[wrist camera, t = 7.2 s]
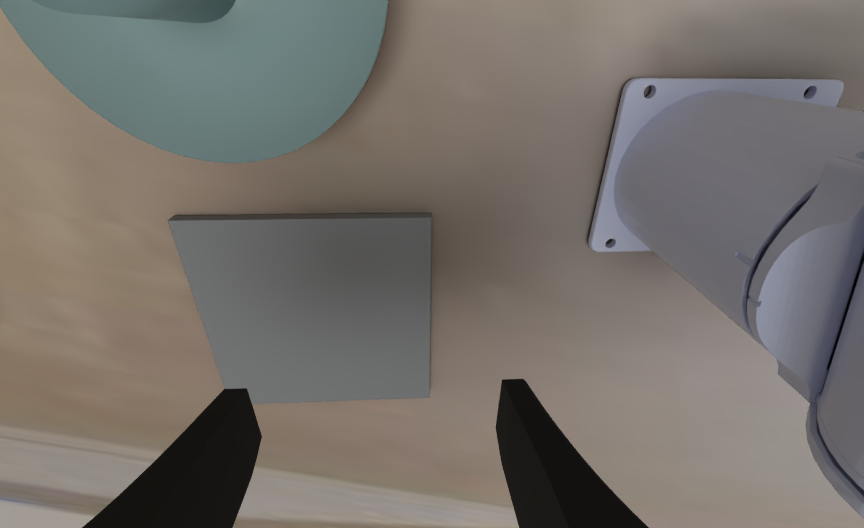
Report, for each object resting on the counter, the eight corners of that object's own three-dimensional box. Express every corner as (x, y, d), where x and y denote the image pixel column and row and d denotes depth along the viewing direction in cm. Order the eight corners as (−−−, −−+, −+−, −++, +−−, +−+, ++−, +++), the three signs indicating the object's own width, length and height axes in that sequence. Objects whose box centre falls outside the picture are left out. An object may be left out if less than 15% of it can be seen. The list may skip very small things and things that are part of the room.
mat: (430, 212, 19) (431, 217, 19) (428, 390, 25) (429, 397, 25) (173, 215, 19) (167, 220, 18) (234, 396, 24) (230, 404, 24)
